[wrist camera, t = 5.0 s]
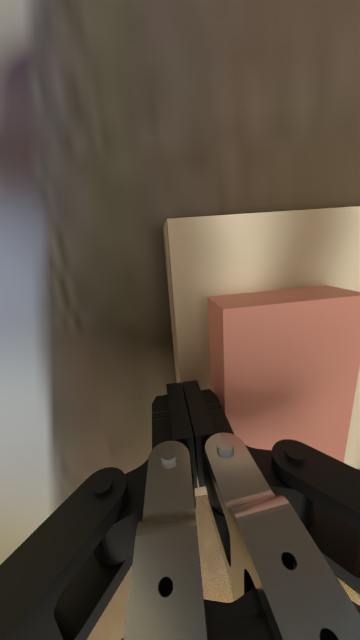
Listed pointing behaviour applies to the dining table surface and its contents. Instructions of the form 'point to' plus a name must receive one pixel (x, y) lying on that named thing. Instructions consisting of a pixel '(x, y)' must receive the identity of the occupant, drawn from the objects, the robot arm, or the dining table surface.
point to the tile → (287, 364)
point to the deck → (254, 275)
